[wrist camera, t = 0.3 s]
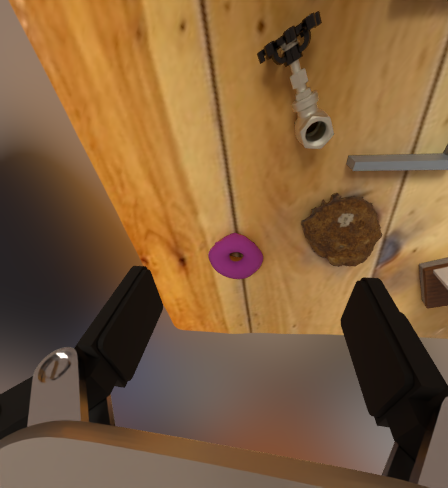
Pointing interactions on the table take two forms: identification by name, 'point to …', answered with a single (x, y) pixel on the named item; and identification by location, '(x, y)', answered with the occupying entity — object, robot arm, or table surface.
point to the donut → (235, 265)
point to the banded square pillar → (434, 283)
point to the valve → (301, 83)
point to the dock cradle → (399, 162)
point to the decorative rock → (343, 230)
